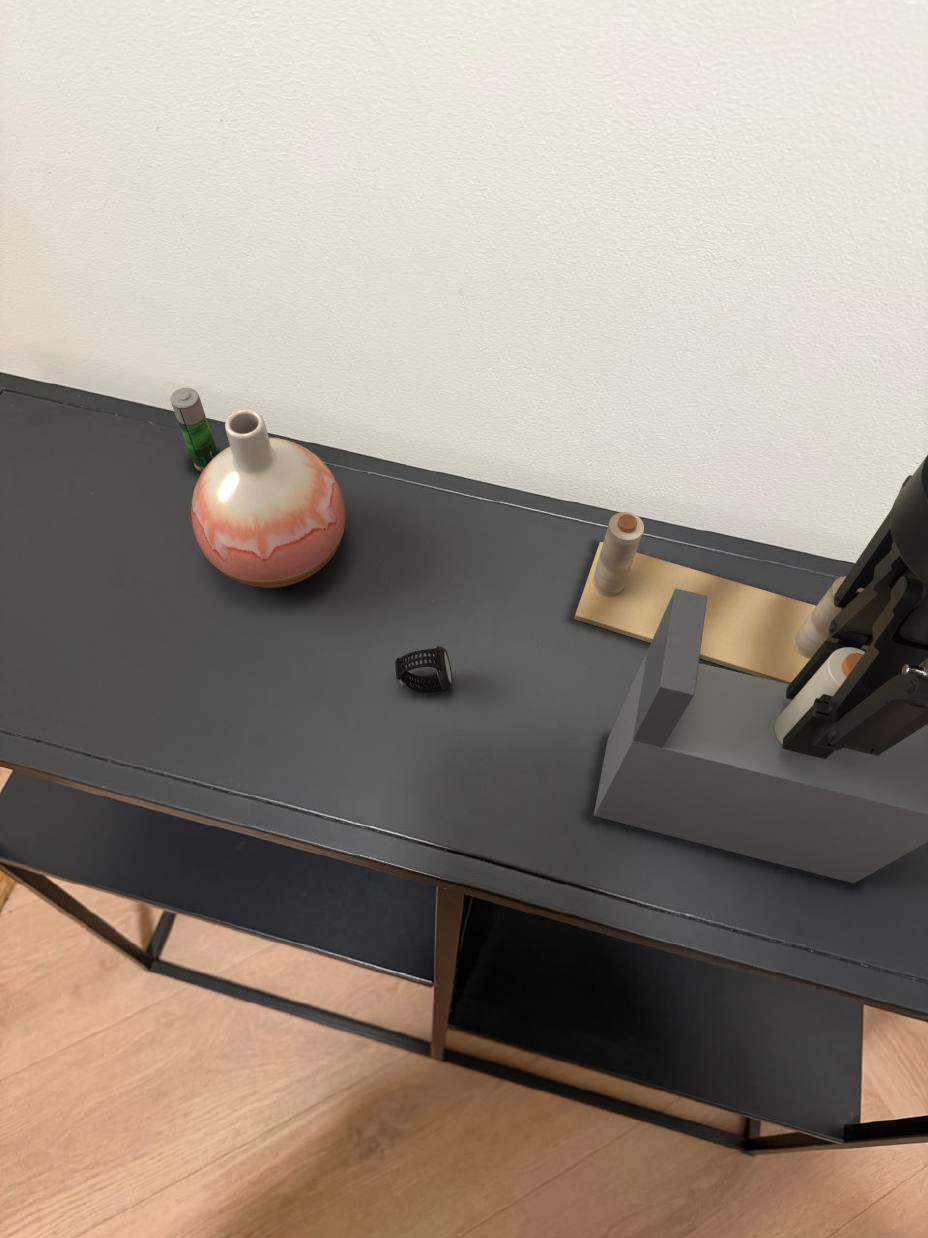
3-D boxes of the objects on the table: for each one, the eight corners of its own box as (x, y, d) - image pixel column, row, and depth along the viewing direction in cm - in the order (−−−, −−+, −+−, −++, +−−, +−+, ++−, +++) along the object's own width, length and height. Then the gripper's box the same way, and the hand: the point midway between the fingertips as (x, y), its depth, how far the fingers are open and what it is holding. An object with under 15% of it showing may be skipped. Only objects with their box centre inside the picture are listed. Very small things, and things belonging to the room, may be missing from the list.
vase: (189, 600, 78) (129, 475, 63) (232, 487, 85) (188, 351, 70) (332, 622, 77) (306, 501, 62) (364, 506, 84) (348, 373, 69)
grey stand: (855, 801, 70) (1030, 668, 49) (854, 884, 66) (1041, 778, 46) (607, 739, 72) (675, 587, 51) (593, 816, 68) (659, 686, 48)
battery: (216, 449, 88) (192, 381, 79) (224, 467, 86) (201, 399, 78) (191, 458, 87) (164, 390, 79) (199, 476, 86) (173, 409, 78)
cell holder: (833, 616, 79) (884, 552, 70) (821, 697, 75) (873, 639, 66) (598, 546, 82) (618, 476, 74) (574, 619, 78) (591, 555, 69)
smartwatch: (447, 708, 73) (447, 683, 69) (391, 693, 74) (388, 667, 69) (460, 668, 75) (461, 641, 71) (405, 654, 76) (403, 626, 71)
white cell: (828, 731, 55) (896, 664, 47) (804, 762, 54) (869, 699, 46) (789, 703, 56) (849, 632, 48) (765, 732, 55) (822, 665, 47)
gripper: (924, 340, 38) (756, 608, 58) (934, 632, 30) (736, 826, 50) (1095, 372, 38) (866, 633, 58) (1152, 681, 29) (862, 858, 50)
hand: (805, 722), depth 54 cm, fingers closed on white cell, 3 cm apart
